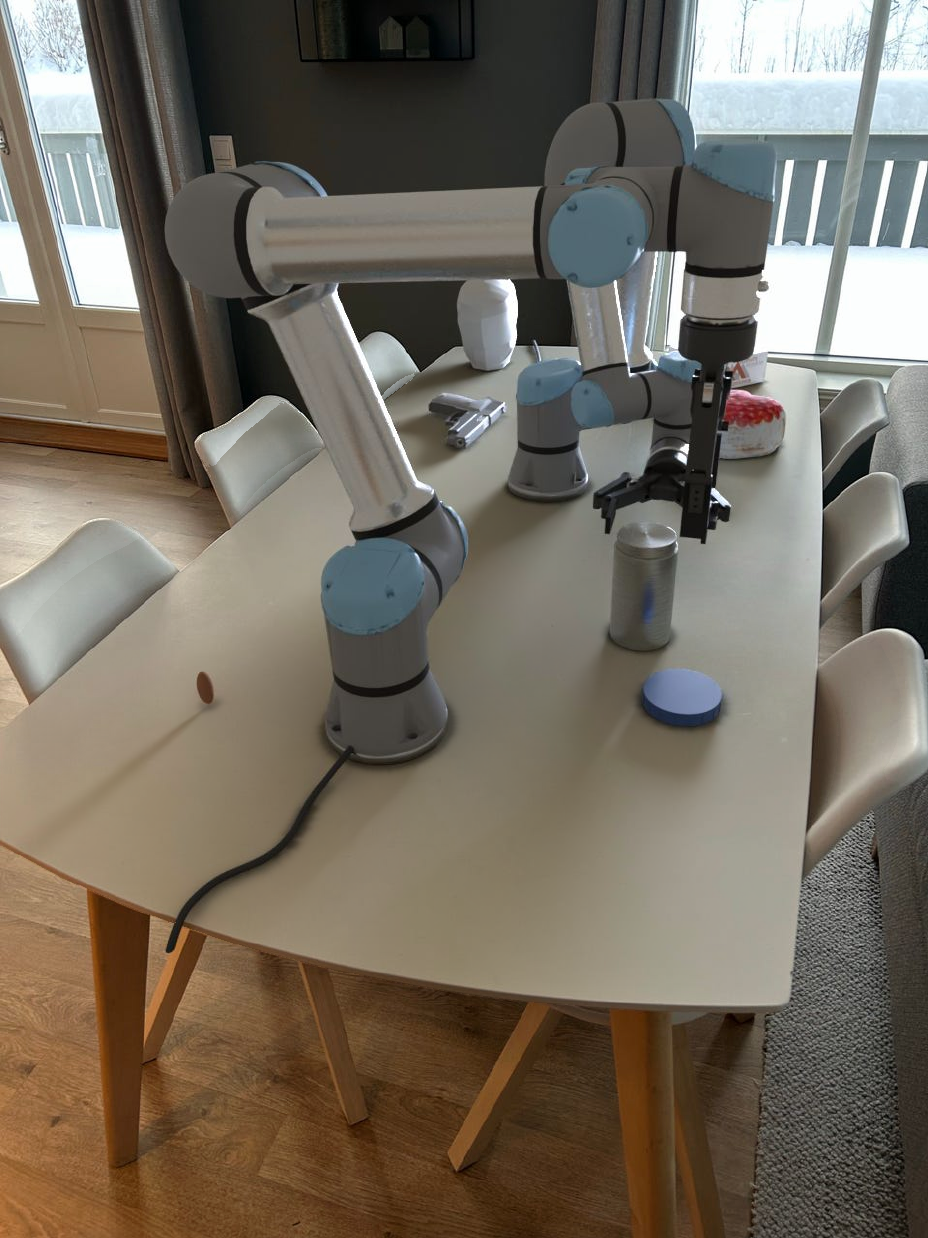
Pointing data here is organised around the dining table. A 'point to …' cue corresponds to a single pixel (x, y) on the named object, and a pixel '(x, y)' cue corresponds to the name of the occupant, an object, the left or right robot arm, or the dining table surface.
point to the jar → (643, 585)
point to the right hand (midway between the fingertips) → (655, 530)
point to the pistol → (466, 416)
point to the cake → (751, 425)
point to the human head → (488, 322)
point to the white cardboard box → (745, 368)
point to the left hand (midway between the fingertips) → (698, 510)
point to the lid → (681, 697)
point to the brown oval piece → (205, 687)
